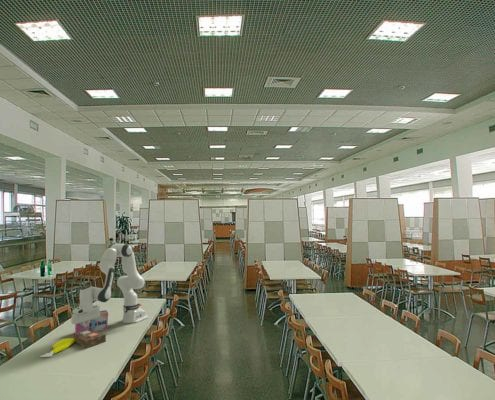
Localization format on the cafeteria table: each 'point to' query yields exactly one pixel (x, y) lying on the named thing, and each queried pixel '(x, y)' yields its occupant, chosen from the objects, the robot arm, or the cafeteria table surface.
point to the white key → (85, 332)
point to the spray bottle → (60, 346)
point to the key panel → (89, 339)
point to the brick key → (92, 335)
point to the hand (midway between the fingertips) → (86, 326)
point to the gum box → (94, 323)
